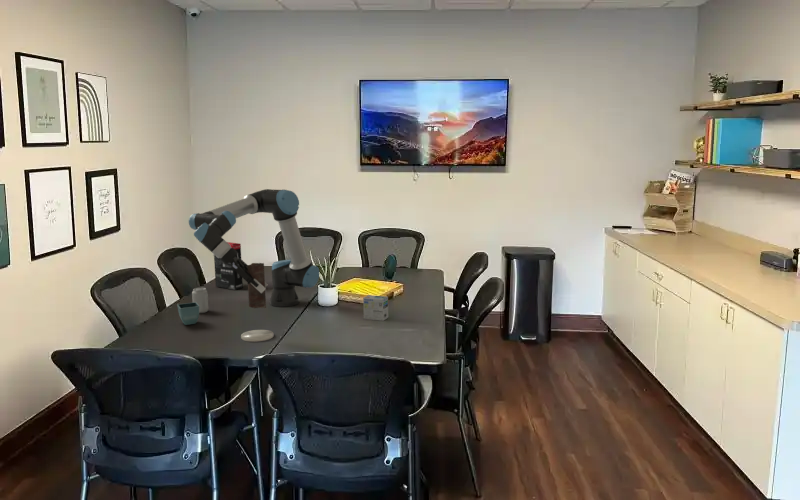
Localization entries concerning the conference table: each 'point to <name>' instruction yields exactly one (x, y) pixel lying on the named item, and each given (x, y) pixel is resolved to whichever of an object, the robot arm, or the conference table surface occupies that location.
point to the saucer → (257, 335)
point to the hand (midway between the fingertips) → (264, 289)
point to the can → (201, 299)
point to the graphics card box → (228, 272)
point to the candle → (253, 294)
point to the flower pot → (188, 312)
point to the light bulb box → (375, 307)
